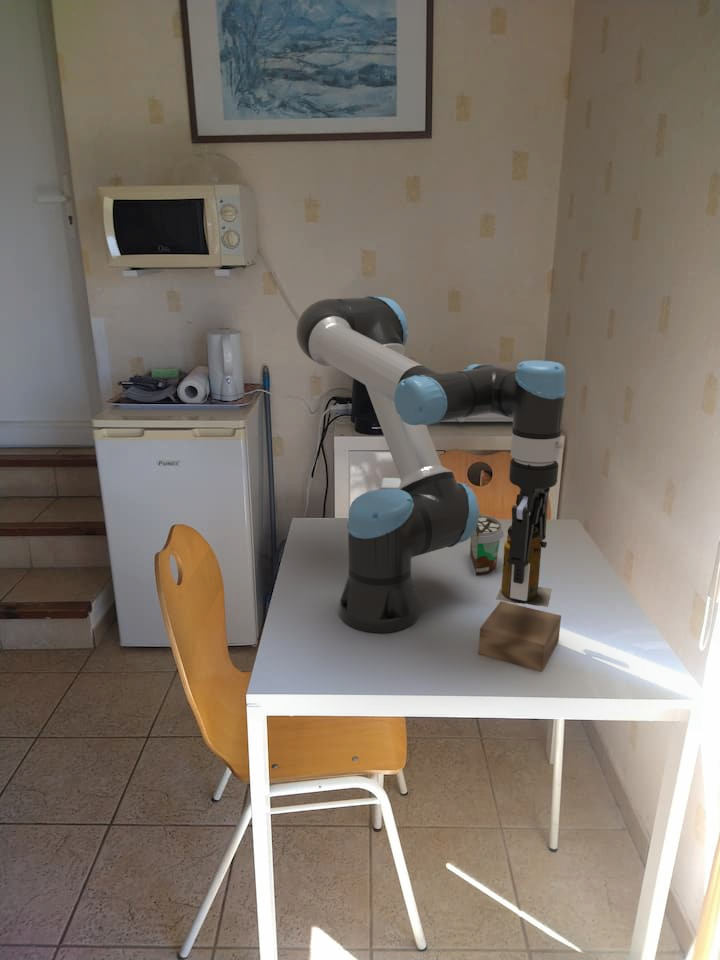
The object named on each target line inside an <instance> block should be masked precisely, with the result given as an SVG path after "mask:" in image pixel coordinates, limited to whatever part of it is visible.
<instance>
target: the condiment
mask: <svg viewBox="0 0 720 960" xmlns="http://www.w3.org/2000/svg"><path fill="white" fill-rule="evenodd" d="M511 527H512V525H510V526H509V527H508V529H507V536H506V539H507V540H506V541H505V542H504V547H503V560H502V561H503V564H502V576H501V577H502V578H501V585H500V588H499V591H498V593H497V596H496V597H495V598H496V600H497V601H502V602H506V603H512V604H522V605H526V604H527V605H529V606H536V607H544V608H549V604H550V600H551V595H552V591H553V588H549V587H542V586H539V583H540V582H539V581H540V568H541V557H542V547H541V545H540V543H539V542H540V530H539V529H538V528H537V527H535V526H534V528H533V534H532V541H531V547H530V553H529V560H528V561H529V562H528V563H530V571H529V583H528V596H527V600H526V601H523V600H519V599H514V598H510V590H511V576H512V564H509V563H508V562H507V559H508V558H509V550H510V539H511Z"/></svg>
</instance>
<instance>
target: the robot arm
mask: <svg viewBox="0 0 720 960" xmlns="http://www.w3.org/2000/svg"><path fill="white" fill-rule="evenodd" d="M406 317H407V316H405V313H404V311H403V309H402V308H401V306H400V305H399V304H398V303H397V302H396V301H394V300H393V299H391V298H388V297H384V296H374V295H369V296H365V297H352V298H351V297H350V298H348V297H347V298H346V297H345V298H344V297H343V298H325V299H321V300H318V301H316V302H314V303H312V304H311V305H309V306H308V307H307V308H306V309H305V310H304V311H303V312H302V314H301V315H300V317H299V319H298V322H297V325H296V340H297V343H298V345H299V348H300V350H301V351H302V353H303V354H305V356H306V357H308V358H309V359H311V361H313V362H315V363H317V364H318V365H320V366H322V367H323V366H324V367H334V368H336V369H338V370H339V371H340V372H342V373H344V374H346V375H348V376H349V377H351V378H352V379H355V380H356V381H358V382H360V383H361V384H363V385H364V386H365V388H366V390H367V392H368V396H369V398H370V401H371V404H372V406H373V409H374V412H375V414H376V415H375V416H376V418H377V420H378V424H379V425H380V428H381V432H382V434H383V436H384V439H385V442H386V445H387V448H388V450H389V452H390V455H391V458H392V461H393V464H394V466H395V469H396V471H397V474H398V478H400V480H401V483H400V486H399V488H398V489H386V490H383V489H381V488H380V489H379V488H378V489H374V490H369V491H366V492H365V493H362V494H360V495H359V496H357V497H355V499H353V501H352V502H351V504H350V506H349V511H348V519H347V520H348V521H347V524H346V525H347V531H348V533H347V534H348V537H347V538H348V576H347V580H346V581H345V582H346V583H345V586H344V588H343V591H342V593H341V597H340V600H339V616H340V619H341V620H342V621H343V622H344V623H345V624H346V625H348V626H349V627H352V628H353V629H356V630H359V631H363V632H368V633H378V634H379V633H393V632H397V631H402V630H404V629H407V628H408V627H411V626H412V625H413V624H415V623H416V622H417V620H418V619H419V616H420V601H419V598H418V595H417V591H416V589H415V586H414V582H413V580H412V575H411V574H412V571H411V570H412V558H414V557H417V556H421V555H424V554H428V553H431V552H434V551H438V550H442V549H445V548H453V547H454V546H457V545H458V544H460V543H463V542H466V541H467V540H469V539H471V536H472V535H473V533H474V532H475V530H476V527H477V523H478V520H479V514H480V507H479V502H478V499H477V495H476V494H475V492H474V490H473V488H471V487H469V486H468V485H467V484H466V483H463V482H458V481H457V480H456V477H455V474H454V472H453V470H451V469H448V468H446V467H444V466H443V465H442V462H441V460H440V457H439V454H438V451H437V450H436V447H435V444H434V442H433V440H432V437H431V435H430V432H429V431H430V430H429V429H428V426H430V425H433V424H436V423H441V422H447V421H451V420H458V419H462V418H463V419H464V418H470V417H476V416H482V415H488V414H495V415H499V416H504V417H507V418H512V431H511V432H512V433H511V443H510V445H511V446H510V456H511V458H512V459H510V463H509V477H508V478H509V482H510V483H511V484H513V485H515V486H517V487H519V489H520V490H519V493H518V494H517V496H516V500H515V504H516V505H512V507H511V519H512V520H511V526H512V527H511V539H510V550H509V558H508V559H507V562H508V563H509V564H512V576H511V590H510V598H514V599H519V600H523V601H526V600H527V596H528V583H529V571H530V563H528V562H529V561H528V560H529V553H530V547H531V541H532V534H533V528H534V526H535V527H537V528H538V529H539V530H540V542H539V543H540V545H541V548H543V549H544V548H547V544H548V542H547V541H544V540H545V539H546V537H547V536H546V531H547V520H548V519H547V518H548V503H549V501H548V500H549V494H550V489H551V488H553V487H554V486H556V484H557V483H558V474H559V463H558V461H557V460H559V458H560V449H563V448H564V446H565V444H564V442H562V441H561V435H562V422H563V414H564V407H565V399H566V394H567V390H566V380H567V379H566V378H567V377H566V375H567V372H566V368H565V366H564V365H563V364H562V363H560V362H556V361H551V360H543V359H542V360H541V359H540V360H535V359H534V360H533V359H532V360H523V361H521V362H519V363H518V364H517V365H516V370H513V369H509V368H503V367H499V366H496V365H492V364H479V363H474V364H470V365H469V366H467V367H466V368H465V369H464V370H458V371H456V370H455V371H450V372H437V371H435V370H433V369H431V368H429V367H427V366H425V365H423V364H421V363H418V362H417V361H415V360H414V359H411V358H409V357H407V356H405V355H404V354H405V350H406V349H405V345H406V343H407V341H408V336H409V332H407V330H408V329H409V328H408V321H407V318H406Z"/></svg>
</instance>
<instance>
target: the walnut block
mask: <svg viewBox="0 0 720 960" xmlns="http://www.w3.org/2000/svg"><path fill="white" fill-rule="evenodd" d="M561 619H562V615H560V614H556V613H553V612H552V613H551V612H547V611H544V610H539V609H535V608H531V607H528V606H527V607H526V606H522V605H518V604H516V603H511V602H506V601H501V600H499V602H498V604H497V605H496V607H495V608H494V609H493V610H492V612H491V613H490V614H489V616H488V617H487V618H486V620H485V621H484V622H483V623H482V625H481V626H480V628H479V641H478V642H479V643H478V655H481V656H485V657H489V658H492V659H496V660H500V661H503V662H507V663H510V664H513V665H518V666H521V667H525V668H528V669H532V670H536V671H539V672H544V669H545V667H546V665H547V664H548V662H549V659H550V658H551V656H552V654H553V652H554V650H555V648H556V647H557V645H558V643H559V641H560V632H561V631H560V630H561V622H562V620H561Z"/></svg>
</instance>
